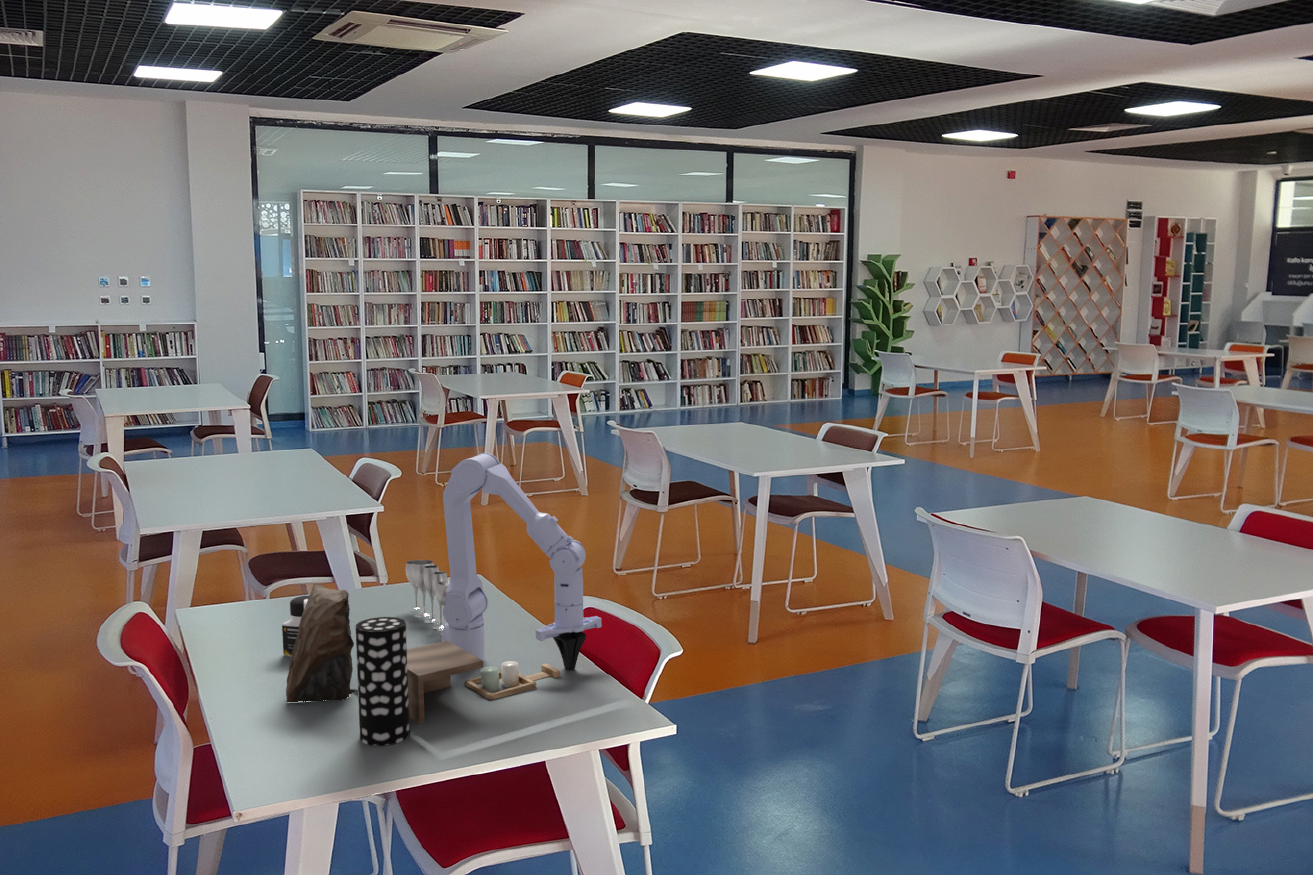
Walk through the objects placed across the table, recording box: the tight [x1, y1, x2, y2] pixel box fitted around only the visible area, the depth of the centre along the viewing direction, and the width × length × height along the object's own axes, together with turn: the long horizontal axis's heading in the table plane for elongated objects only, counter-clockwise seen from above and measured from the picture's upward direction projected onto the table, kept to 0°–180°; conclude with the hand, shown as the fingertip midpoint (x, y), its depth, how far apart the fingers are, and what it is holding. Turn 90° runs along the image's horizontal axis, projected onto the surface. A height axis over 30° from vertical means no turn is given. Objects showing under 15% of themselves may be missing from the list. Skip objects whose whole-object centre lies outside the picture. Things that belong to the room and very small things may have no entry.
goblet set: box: [405, 559, 450, 637], centre depth 247 cm, size 28×6×13 cm, turn 32°
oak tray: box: [464, 663, 561, 701], centre depth 205 cm, size 10×17×2 cm, turn 128°
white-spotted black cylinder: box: [355, 616, 410, 747], centre depth 181 cm, size 8×8×20 cm
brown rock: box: [285, 583, 355, 702], centre depth 202 cm, size 13×13×20 cm
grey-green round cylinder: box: [479, 665, 500, 693], centre depth 201 cm, size 3×3×4 cm
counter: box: [407, 640, 484, 725], centre depth 194 cm, size 14×13×10 cm
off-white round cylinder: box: [500, 660, 520, 688], centre depth 204 cm, size 3×3×4 cm
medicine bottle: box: [281, 595, 309, 657], centre depth 225 cm, size 7×7×12 cm
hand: (569, 667), depth 212 cm, fingers closed
